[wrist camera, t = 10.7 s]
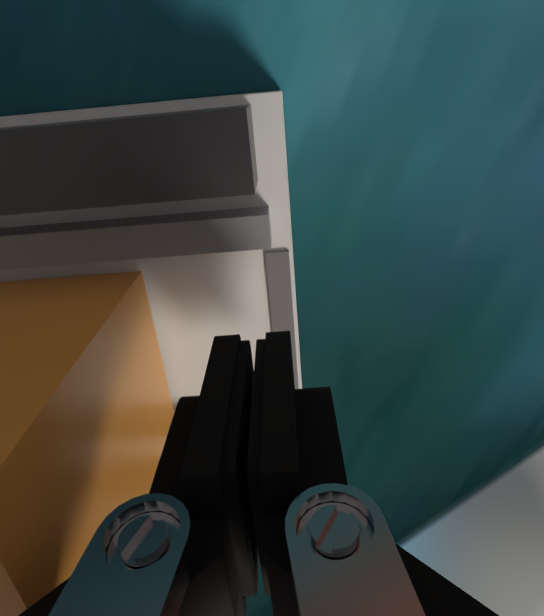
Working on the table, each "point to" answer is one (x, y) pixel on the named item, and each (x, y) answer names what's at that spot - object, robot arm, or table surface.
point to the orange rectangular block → (72, 420)
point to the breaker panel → (160, 215)
